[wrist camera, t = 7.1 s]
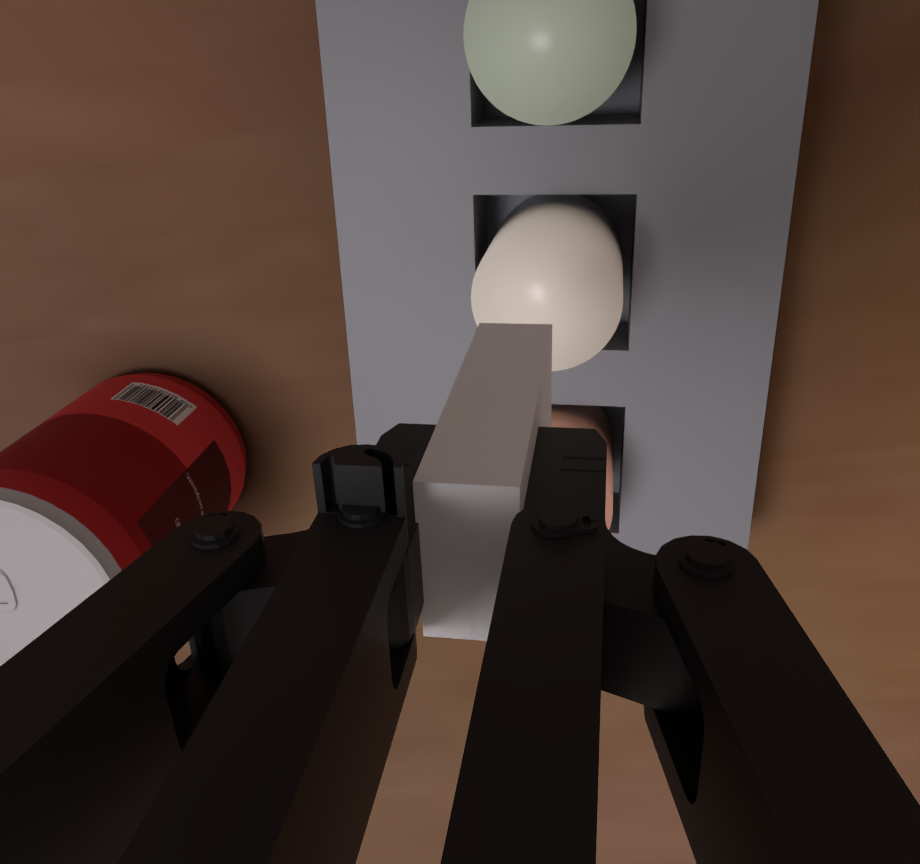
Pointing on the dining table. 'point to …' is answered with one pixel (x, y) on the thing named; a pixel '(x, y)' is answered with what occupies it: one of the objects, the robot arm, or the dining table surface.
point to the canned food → (106, 492)
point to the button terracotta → (593, 420)
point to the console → (618, 193)
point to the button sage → (549, 54)
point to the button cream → (555, 275)
